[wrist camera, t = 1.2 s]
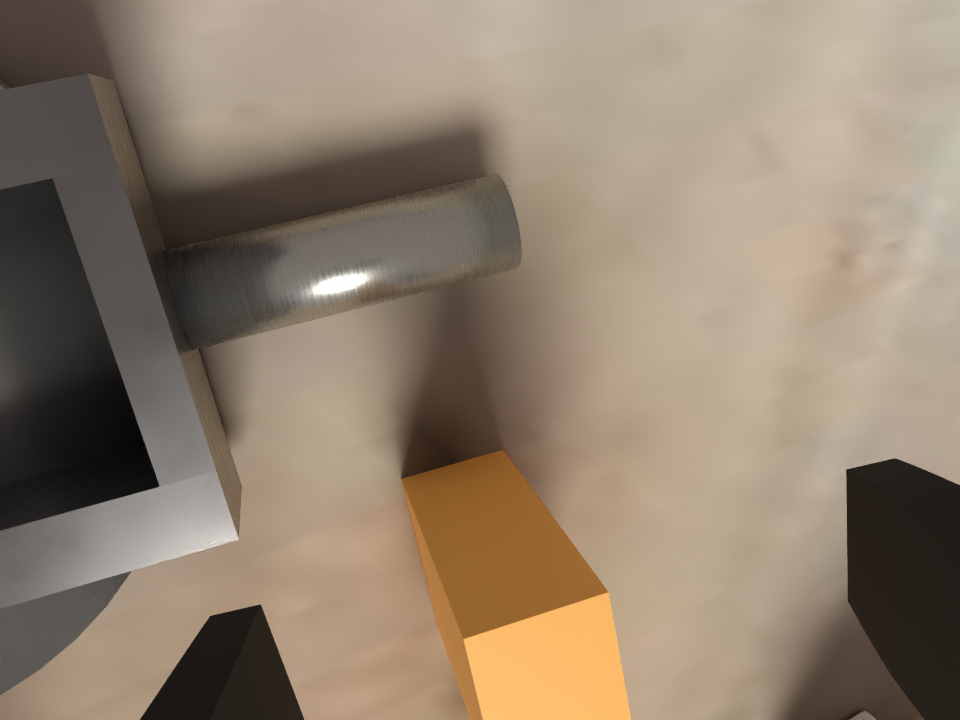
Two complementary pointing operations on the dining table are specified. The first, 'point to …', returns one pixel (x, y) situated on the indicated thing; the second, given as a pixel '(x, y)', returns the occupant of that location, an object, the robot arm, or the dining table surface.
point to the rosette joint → (157, 347)
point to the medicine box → (863, 716)
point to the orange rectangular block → (514, 597)
